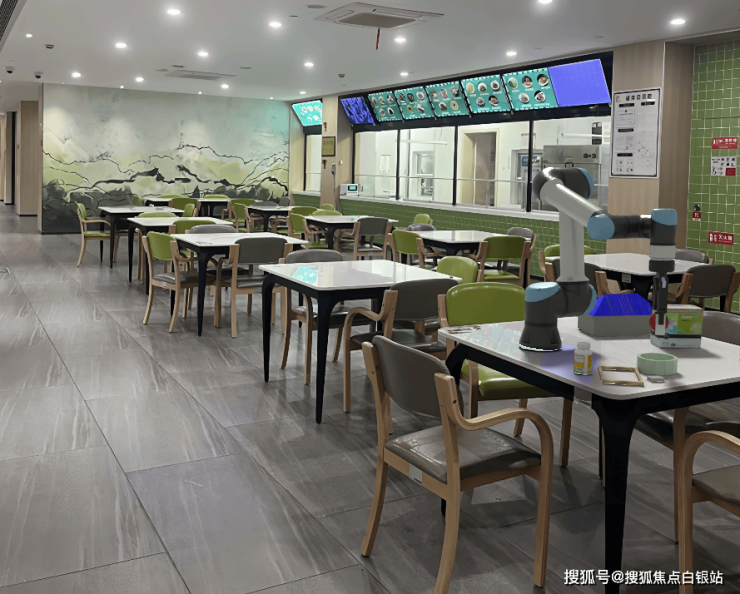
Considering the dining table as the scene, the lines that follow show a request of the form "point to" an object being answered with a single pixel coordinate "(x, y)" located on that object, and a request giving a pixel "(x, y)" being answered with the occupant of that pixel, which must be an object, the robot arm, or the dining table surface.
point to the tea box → (681, 327)
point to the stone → (655, 378)
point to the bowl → (657, 363)
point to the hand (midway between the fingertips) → (658, 332)
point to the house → (617, 316)
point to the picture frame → (639, 382)
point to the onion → (653, 321)
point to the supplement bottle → (583, 358)
